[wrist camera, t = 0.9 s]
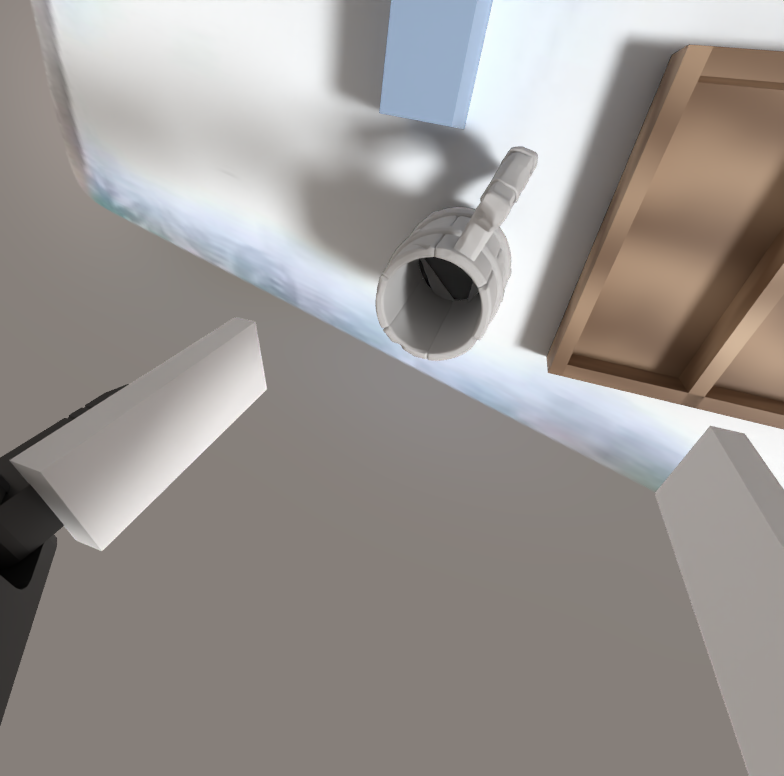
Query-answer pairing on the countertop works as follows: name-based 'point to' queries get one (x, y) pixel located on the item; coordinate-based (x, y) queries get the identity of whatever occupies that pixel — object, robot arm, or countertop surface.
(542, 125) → the countertop surface
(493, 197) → the mug
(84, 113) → the countertop surface
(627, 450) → the countertop surface
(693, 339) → the tray
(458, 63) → the long blue-grey cuboid
